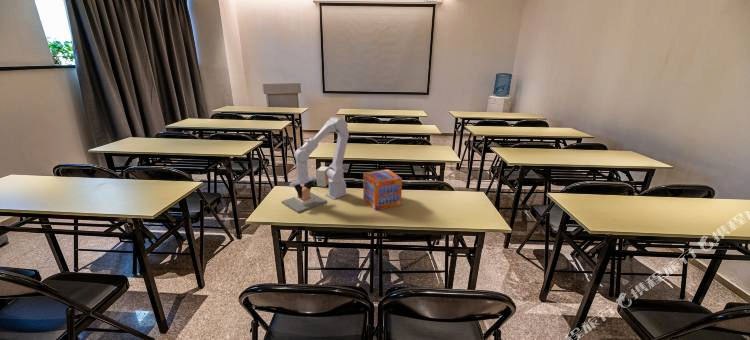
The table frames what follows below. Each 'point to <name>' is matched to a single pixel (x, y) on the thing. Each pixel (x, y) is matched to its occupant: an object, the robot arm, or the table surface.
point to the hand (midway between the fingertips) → (304, 196)
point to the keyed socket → (304, 203)
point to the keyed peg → (305, 194)
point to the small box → (322, 176)
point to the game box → (382, 189)
